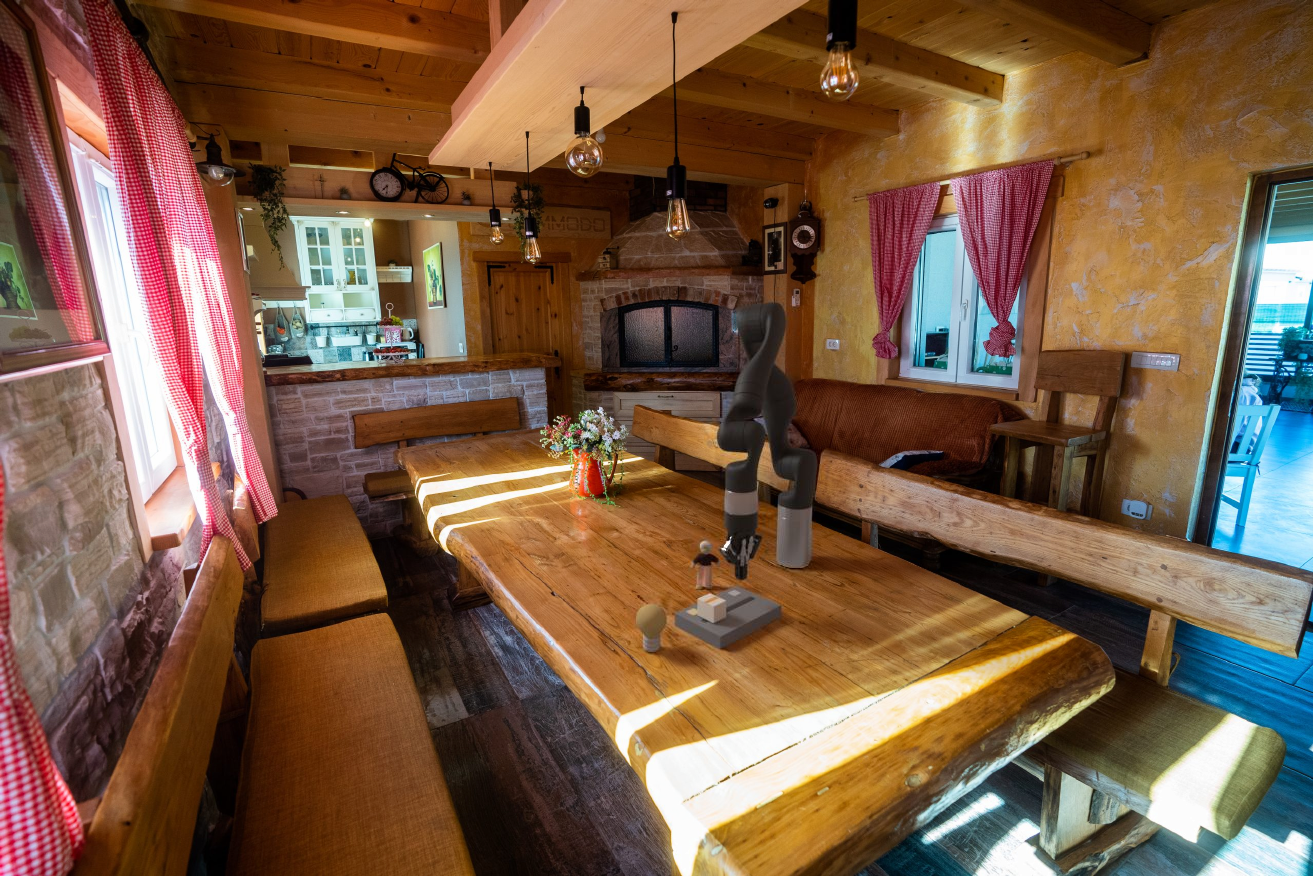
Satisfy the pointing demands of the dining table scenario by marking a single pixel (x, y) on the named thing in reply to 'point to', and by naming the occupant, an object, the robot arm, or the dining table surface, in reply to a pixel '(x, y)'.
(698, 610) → the fader knob
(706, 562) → the grandmother figurine
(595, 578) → the dining table surface
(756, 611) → the fader console
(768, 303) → the robot arm
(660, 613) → the light bulb
